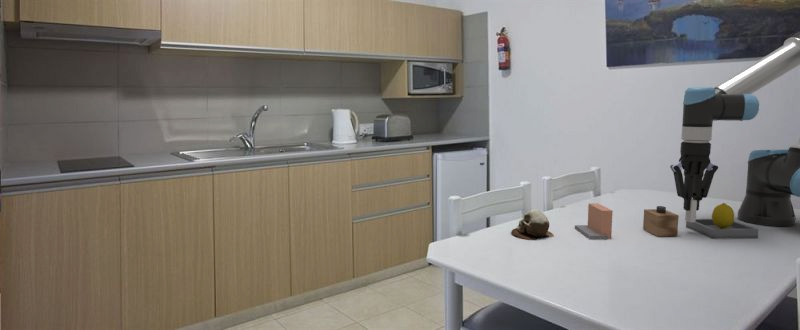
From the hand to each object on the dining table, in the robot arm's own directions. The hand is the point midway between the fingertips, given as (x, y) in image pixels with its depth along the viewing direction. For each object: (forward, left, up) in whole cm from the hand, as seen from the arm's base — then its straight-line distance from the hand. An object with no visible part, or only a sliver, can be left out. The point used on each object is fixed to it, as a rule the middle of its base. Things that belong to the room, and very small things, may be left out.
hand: (690, 221), depth 149 cm
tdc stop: (+29, 0, -3) cm, 29 cm away
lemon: (-10, 0, -3) cm, 10 cm away
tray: (-9, 0, -3) cm, 10 cm away
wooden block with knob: (+9, 0, -3) cm, 9 cm away
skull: (+47, 0, -4) cm, 47 cm away
